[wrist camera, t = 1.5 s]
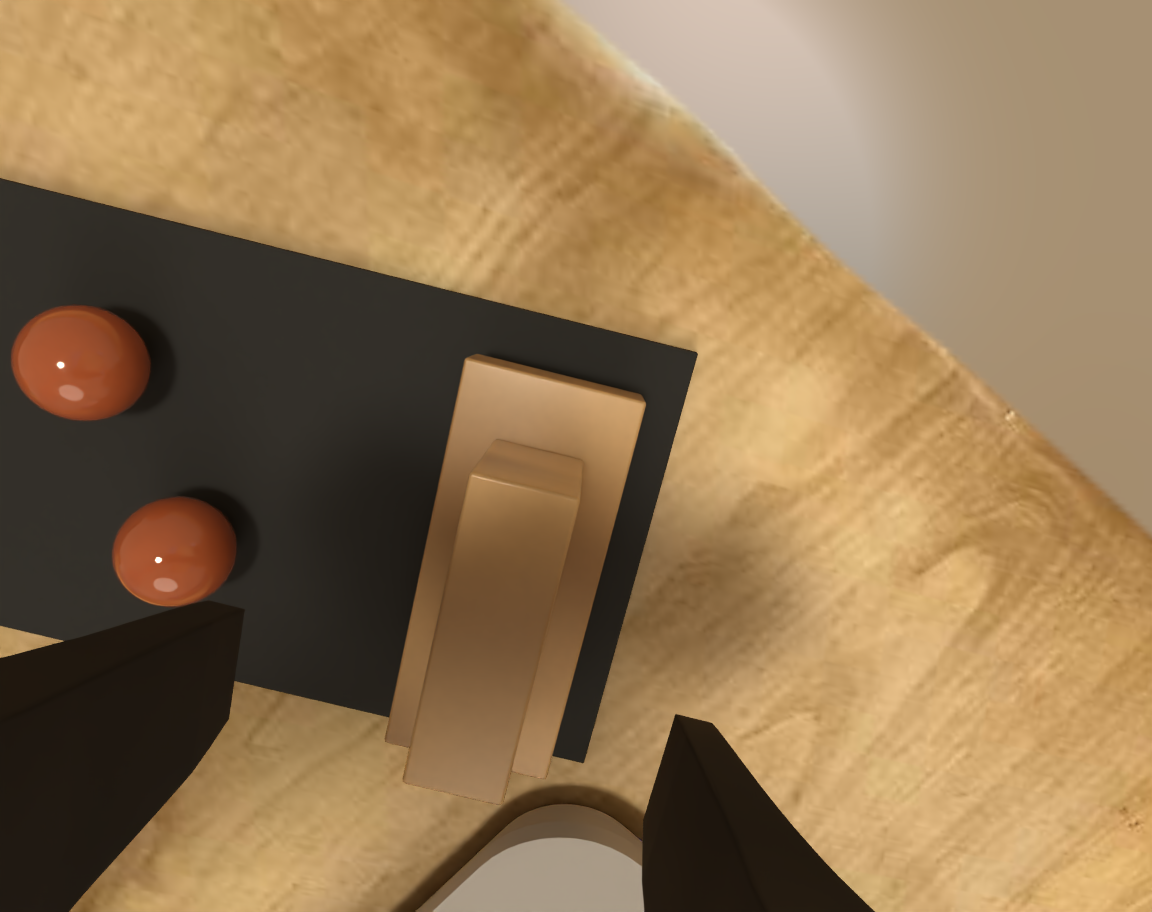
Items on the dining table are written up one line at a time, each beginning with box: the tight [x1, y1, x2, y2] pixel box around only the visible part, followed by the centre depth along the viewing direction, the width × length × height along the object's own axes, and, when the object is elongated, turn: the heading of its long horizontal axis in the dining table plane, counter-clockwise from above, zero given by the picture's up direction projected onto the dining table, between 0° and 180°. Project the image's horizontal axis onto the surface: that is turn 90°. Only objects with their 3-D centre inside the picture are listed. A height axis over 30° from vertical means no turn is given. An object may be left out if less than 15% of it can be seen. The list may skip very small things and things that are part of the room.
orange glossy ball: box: [11, 304, 152, 422], centre depth 19 cm, size 3×3×3 cm
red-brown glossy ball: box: [112, 496, 238, 607], centre depth 20 cm, size 3×3×3 cm
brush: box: [385, 354, 646, 805], centre depth 18 cm, size 10×4×6 cm, turn 166°
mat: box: [0, 178, 698, 763], centre depth 21 cm, size 13×26×1 cm, turn 76°
